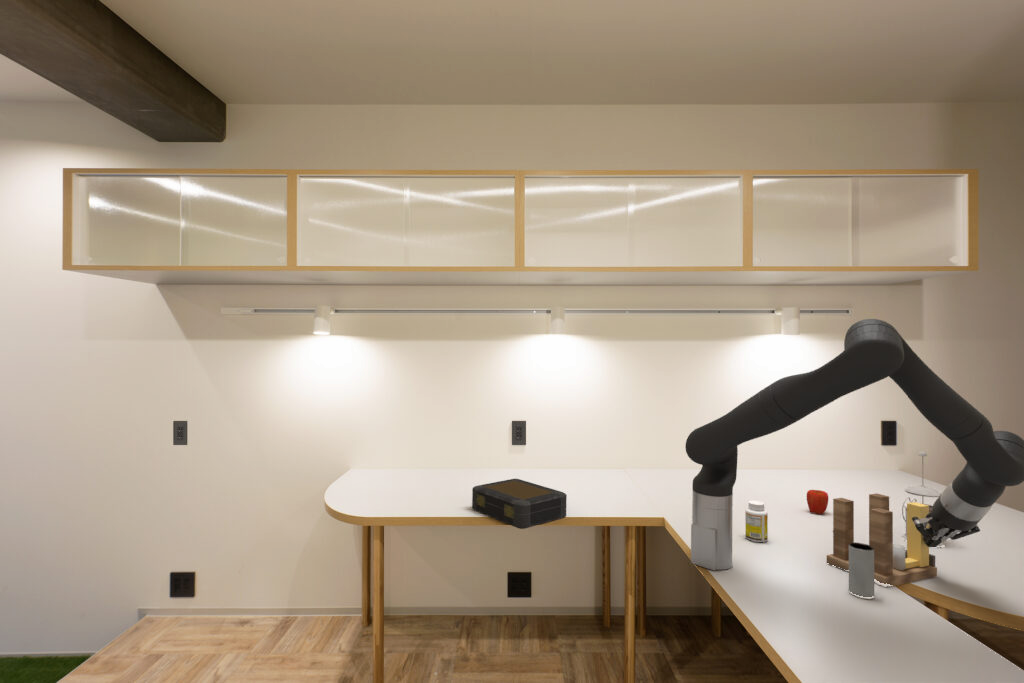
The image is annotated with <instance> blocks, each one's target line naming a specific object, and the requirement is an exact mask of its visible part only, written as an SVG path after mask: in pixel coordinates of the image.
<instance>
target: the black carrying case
mask: <svg viewBox="0 0 1024 683" xmlns="http://www.w3.org/2000/svg"><path fill="white" fill-rule="evenodd" d="M471 495H472V498H471V499H472V500H471V501H472V502H471V509H472V510H473V511H475V512H477V513H479V514H481V515H484V516H487V517H489V518H492V519H494V520H497V521H500V522H502V523H504V524H506V525H509V526H512V527H514V528H517V529H521V530H524V529H525V530H526V529H528V528H533V527H535V526H539V525H543V524H546V523H549V522H553V521H557V520H561V519H565V518H566V517H567V494H566V493H565V492H563V491H561V490H558V489H554V488H550V487H547V486H543V485H540V484H536V483H533V482H529V481H526V480H523V479H519V478H509V479H506V480H505V479H504V480H500V481H495V482H490V483H484V484H479V485H475V486H474V487H472V494H471Z"/></svg>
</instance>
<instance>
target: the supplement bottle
mask: <svg viewBox="0 0 1024 683" xmlns="http://www.w3.org/2000/svg"><path fill="white" fill-rule="evenodd" d="M765 508H766V507H765V503H764V502H762V501H759V500H749V501H748V507H746V509H745V512H744V513H745V538H746V539H747V540H748V541H750V540H751V541H750V542H753V541H755V542H754V543H759V542H763V543H766V542H767V541H768V536H769V535H768V534H769V533H768V529H769V528H768V522H769V521H768V520H769V519H768V511H767V510H766V509H765Z"/></svg>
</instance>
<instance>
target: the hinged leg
mask: <svg viewBox="0 0 1024 683" xmlns="http://www.w3.org/2000/svg"><path fill="white" fill-rule="evenodd" d="M920 503H921V502H920ZM920 503H919V502H917V501H916V502H915V501H913V502H912V503H911V502H907V503H906V504H907V542H906V547H905V546H904V545H901V544H896V543H894V544H893V568H895V569H898V570H905V569H907V568H912V567H916V566H919V567H925V566H929V554H930V547H927V545H926V544H925V542H924V540H923V537H924V536H923V535H922V534H921V533H920V532H919V531H918V530H917V529H916V527H915V525H914V522H913V520H912V518H913V517H918V518H919V519H923V518H926V515H927V514H929V505H930V504H927V505H924V504H925V503H923V504H922V503H921V504H920ZM928 527H929V524H927V527H926V528H928ZM905 550H907V558H905Z"/></svg>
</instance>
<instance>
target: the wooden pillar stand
mask: <svg viewBox="0 0 1024 683" xmlns="http://www.w3.org/2000/svg"><path fill="white" fill-rule="evenodd" d="M832 500H833V502H832V503H833V506H832V508H833V510H832V511H833V512H832V513H833V514H832V516H833V517H832V518H833V522H832V523H833V524H832V526H833V528H832V529H833V530H832V532H833V533H832V539H833V540H832V541H833V545H832V546H833V547H832V553H831V554H826V564H827V563H829V564H831V565H830V566H832V565H834V566H836V567H835V568H837V567H840V568H842V569H845V570H849V543H853V542H855V540H854V539H855V534H854V532H855V530H854V529H855V528H854V527H855V524H854V522H855V521H854V518H855V517H854V516H855V514H854V513H855V512H854V511H855V510H854V505H855V503H854V500H852V499H847V498H844V497H838V498H837V497H836V498H833V499H832ZM893 514H894V513H893V511H891V510H890V496H889V495H885V494H881V493H870V494H868V535H869V536H868V545H870V546H872V547H873V548H874V579H876V580H877V581H879V582H880V583H884V584H886V583H887V584H890V585H893V586H892V587H894V586H899V585H904V584H908V583H913V582H918V581H922V580H927V579H930V578H931V579H932V578H935V577H938V567H936V555H934V554H931V553H929V566H925V567H919V566H916V567H912V568H907V569H905V570H898V569H895V568H893V543H894V540H893V538H894V530H893V529H894V526H893V525H894V522H893V519H894V517H893V516H894V515H893ZM905 558H907V549H905ZM829 564H828V565H829ZM834 566H833V567H834Z"/></svg>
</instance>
